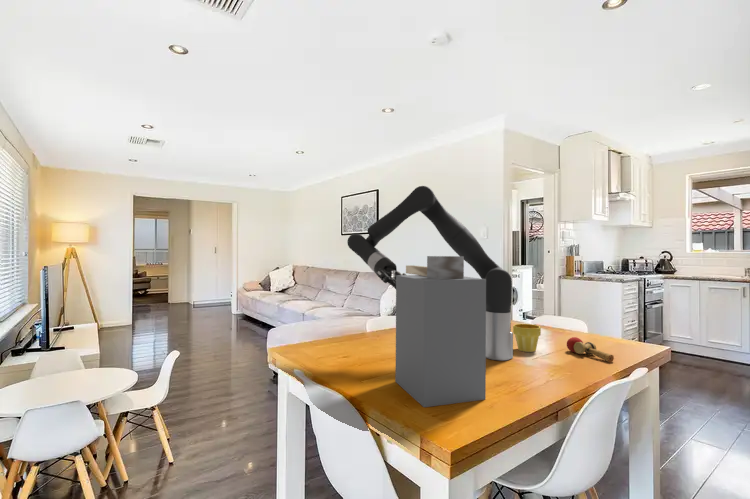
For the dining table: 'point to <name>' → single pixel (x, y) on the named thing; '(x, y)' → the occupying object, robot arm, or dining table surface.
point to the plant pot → (527, 336)
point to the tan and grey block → (440, 267)
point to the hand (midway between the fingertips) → (407, 289)
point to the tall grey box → (441, 339)
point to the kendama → (587, 349)
